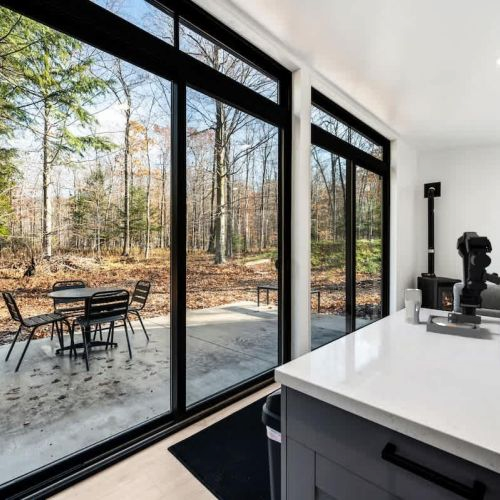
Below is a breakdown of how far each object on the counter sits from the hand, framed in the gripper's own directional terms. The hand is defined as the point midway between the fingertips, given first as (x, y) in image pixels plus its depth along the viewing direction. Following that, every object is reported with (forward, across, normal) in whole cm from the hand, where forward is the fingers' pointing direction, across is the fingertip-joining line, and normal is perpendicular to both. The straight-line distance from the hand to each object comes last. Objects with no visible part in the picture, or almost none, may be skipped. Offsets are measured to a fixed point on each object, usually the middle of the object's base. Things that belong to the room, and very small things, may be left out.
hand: (476, 303), depth 133 cm
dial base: (+11, -6, +8) cm, 15 cm away
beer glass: (+11, -2, +24) cm, 26 cm away
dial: (+9, -6, +7) cm, 13 cm away
